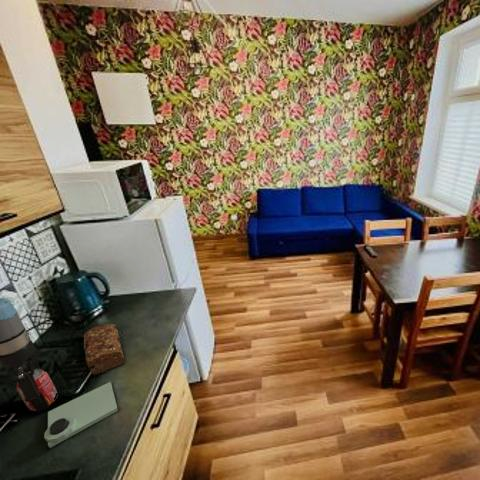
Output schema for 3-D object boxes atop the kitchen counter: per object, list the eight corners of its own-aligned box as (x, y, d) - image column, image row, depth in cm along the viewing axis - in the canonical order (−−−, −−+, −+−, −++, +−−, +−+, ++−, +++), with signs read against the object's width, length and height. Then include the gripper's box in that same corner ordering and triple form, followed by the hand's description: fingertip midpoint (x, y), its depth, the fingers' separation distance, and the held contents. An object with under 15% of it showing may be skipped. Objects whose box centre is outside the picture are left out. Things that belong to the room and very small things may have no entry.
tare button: (51, 437, 75) (49, 433, 75) (51, 427, 78) (49, 423, 77) (68, 428, 78) (66, 424, 77) (68, 419, 80) (66, 415, 79)
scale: (48, 451, 75) (44, 444, 73) (48, 415, 84) (44, 409, 83) (118, 412, 85) (115, 406, 84) (111, 384, 94) (109, 378, 93)
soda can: (24, 408, 86) (8, 382, 81) (51, 390, 92) (37, 364, 87) (37, 416, 83) (21, 389, 79) (64, 396, 90) (50, 370, 85)
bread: (90, 348, 109) (81, 329, 105) (121, 336, 115) (114, 318, 112) (91, 378, 96) (82, 358, 92) (127, 363, 102) (119, 343, 98)
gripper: (30, 360, 74) (59, 415, 83) (32, 324, 87) (58, 374, 96) (-11, 375, 69) (25, 432, 78) (-2, 335, 83) (28, 387, 91)
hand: (43, 400), depth 87 cm, fingers closed on soda can, 7 cm apart
